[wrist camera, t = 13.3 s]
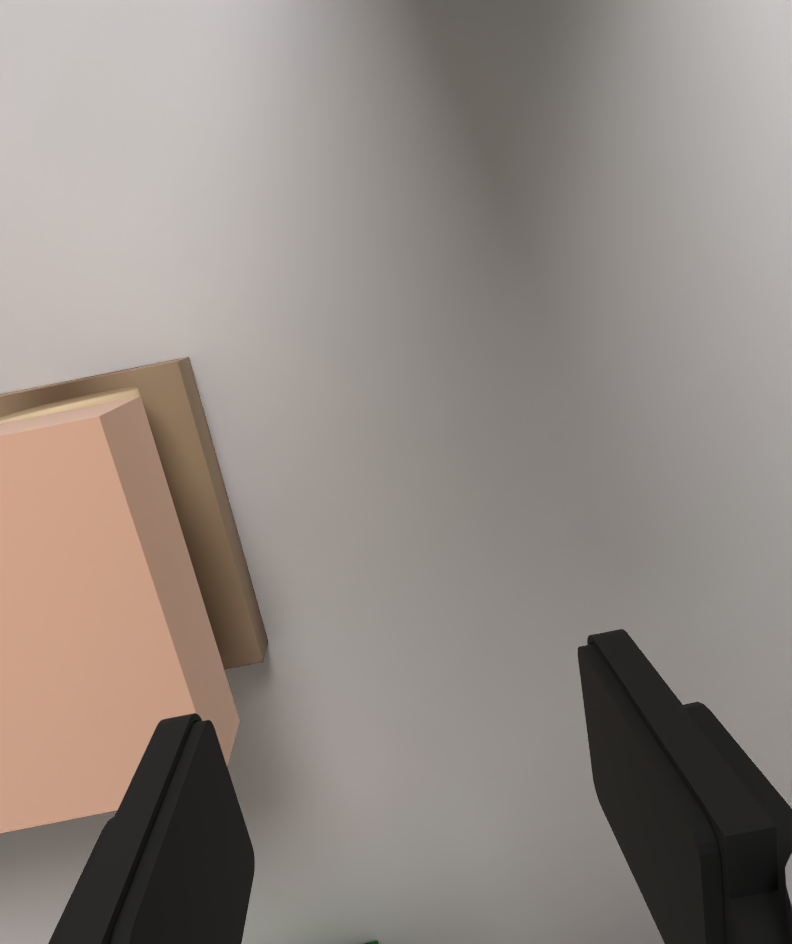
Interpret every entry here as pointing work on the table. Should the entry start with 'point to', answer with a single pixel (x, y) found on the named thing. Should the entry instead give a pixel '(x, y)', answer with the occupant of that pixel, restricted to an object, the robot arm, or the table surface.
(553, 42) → the table surface
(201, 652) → the pink toy brick
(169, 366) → the track
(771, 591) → the table surface
